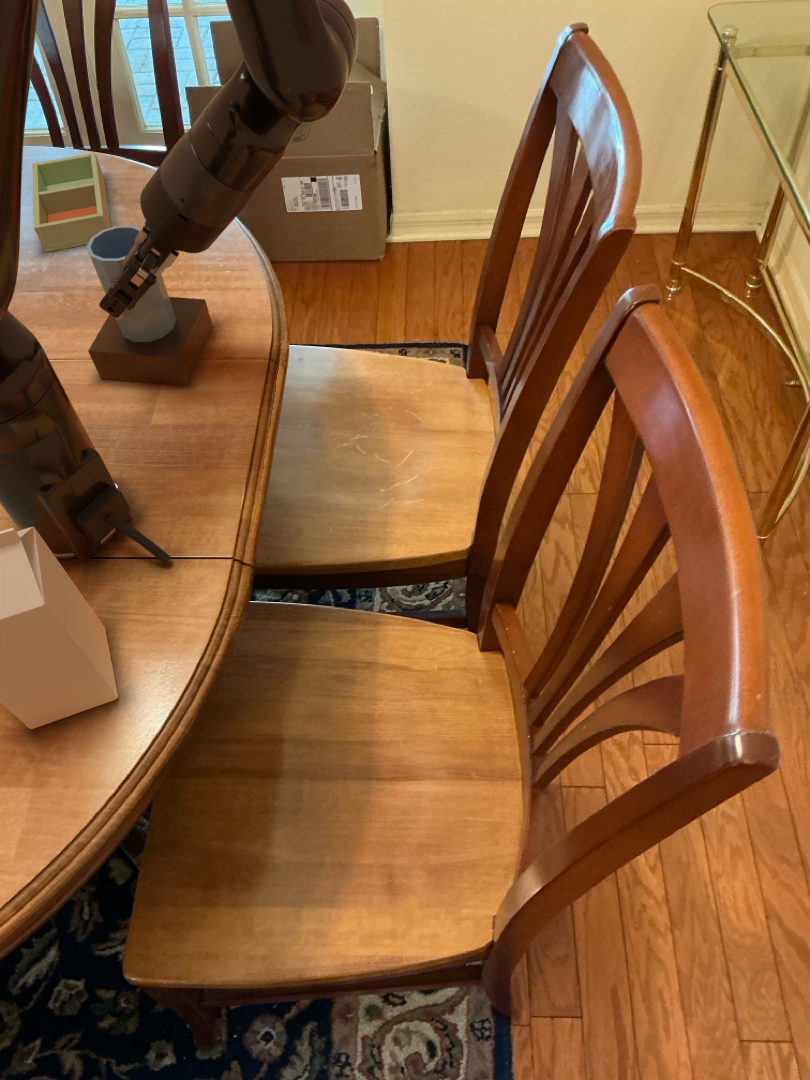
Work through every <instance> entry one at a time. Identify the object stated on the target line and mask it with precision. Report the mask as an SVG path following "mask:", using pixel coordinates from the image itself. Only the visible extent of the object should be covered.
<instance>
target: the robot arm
mask: <svg viewBox="0 0 810 1080" xmlns="http://www.w3.org/2000/svg"><path fill="white" fill-rule="evenodd" d="M225 4H226V7H227V10H228V13H229V17H230V20H231V22H232V26H233V29H234V32H235V36H236V39H237V41H238V45H239V48H240V51H241V54H242V57H243V59H242V60H241V62H240V64H239V65H238V67H237V69H236V70H235V72H234V73H233V74H232V76H230V78H229V79H228V81H227V82H226V83H225V84H224V85H223V86H222V87H221V88H220V89H219V91H218V92H217V93H216V94H215V95H214V96H213V98H211V100H209V103H207V105H206V107H204V109H203V111H202V112H201V113H200V115H199V116H198V117H197V119H196V121H195V122H194V123H193V124H192V125H191V127H190V128H189V129H188V130H187V131H186V132H185V133H184V134H183V135H182V136H181V137H179V139H178V140H177V141H176V142H175V144H174V145H173V147H172V148H171V149H170V151H169V152H168V154H167V155H166V156H165V158H164V159H163V160H162V161H161V163H160V165H159V167H158V168H157V169H156V170H155V172H154V173H153V175H152V176H151V177H150V179H149V180H148V182H147V183H146V184H145V186H144V187H143V189H142V191H141V192H140V197H139V200H140V201H139V204H140V209H141V210H140V211H141V213H142V215H143V218H144V220H145V221H144V225H143V226H142V227H141V230H140V231H139V233H138V234H137V236H136V238H135V244H134V245H133V246H132V248H131V249H130V251H129V252H128V253H127V255H126V256H125V258H124V259H123V261H122V263H121V267H122V269H123V270H122V272H121V273H120V275H119V276H118V277H117V279H114V280H113V282H112V283H113V285H112V286H111V287H110V288H109V290H108V292H107V293H106V295H104V296H103V297H102V299H101V300H100V301H99V303H98V306H99V308H100V309H101V310H103V311H104V312H105V313H107V314H108V315H109V314H110V315H111V316H113V317H115V318H118V317H119V316H120V315H121V314H122V313H123V311H124V310H125V309H126V308H127V309H128V310H129V311H130V310H131V309H132V308H134V307H135V305H136V303H137V302H138V301H139V300H140V298H141V297H142V296H143V295H144V294H145V293H146V292H147V291H148V289H149V288H150V287H152V286H153V285H154V284H155V283H156V281H157V279H158V278H159V277H160V275H161V274H162V275H163V273H164V271H165V270H166V269H167V268H170V267H171V266H172V265H173V264H174V263H175V261H176V260H177V258H178V257H179V255H180V252H181V253H187V254H201V253H203V252H205V251H207V250H208V249H209V248H210V247H211V246H212V245H213V244H214V243H215V242H216V240H217V239H218V238H219V237H220V236H221V235H222V234H223V232H225V230H226V229H227V228H228V226H230V224H231V223H232V222H233V221H234V220H235V219H236V218H237V216H238V215H239V214H241V212H242V211H243V210H244V208H246V206H247V204H248V203H249V201H250V200H251V198H252V196H253V195H254V193H255V192H256V190H257V189H258V188H259V187H260V185H261V184H262V183H263V182H264V180H265V179H267V177H268V176H269V175H270V174H271V173H272V171H273V170H274V169H275V168H276V167H277V165H278V164H279V163H280V162H281V160H282V159H283V157H284V156H285V155H286V153H287V152H288V149H289V148H290V145H291V143H292V141H293V139H294V136H295V135H296V133H297V131H298V130H299V129H300V127H301V126H302V124H306V123H307V124H308V123H315V122H318V121H321V120H322V119H324V118H325V117H328V115H329V114H330V113H332V111H333V110H334V109H335V108H336V106H337V105H338V104H339V102H340V100H341V99H342V96H343V93H344V92H345V88H346V86H347V83H348V80H349V78H350V76H351V73H352V71H353V69H354V66H355V64H356V60H357V56H358V51H359V50H358V49H359V31H358V26H357V22H356V18H355V16H354V15H353V11H352V9H351V8H350V6H349V5H348V3H347V2H346V1H345V0H225ZM40 5H41V0H0V505H1V507H2V508H3V509H4V511H5V513H6V514H7V515H8V516H9V517H10V519H11V520H12V522H13V523H14V525H16V527H17V528H18V529H19V531H20V530H23V529H27V528H30V527H34V528H35V529H36V530H37V532H38V533H39V535H40V536H41V537H42V539H43V540H44V542H45V543H46V545H47V546H48V547H49V549H50V550H51V552H52V553H53V554H54V556H55V557H56V559H57V560H71V559H79V560H80V561H82V562H88V561H89V560H90V559H91V558H93V556H95V554H96V553H98V552H99V550H101V549H102V548H103V547H104V546H105V545H106V544H108V542H110V540H112V539H113V537H115V535H116V534H117V533H118V532H119V531H120V532H121V533H123V534H124V535H126V536H127V537H128V538H130V539H132V540H133V541H134V542H136V543H137V544H139V546H141V547H143V548H144V549H145V550H147V552H149V553H150V554H151V555H153V557H155V558H156V559H157V560H159V561H160V562H161V563H162V564H164V565H166V564H167V563H168V562H169V561H170V560H171V559H172V556H171V555H169V554H168V553H167V552H166V551H164V549H162V548H161V547H160V546H159V545H157V544H156V543H155V542H153V540H151V539H150V538H148V537H147V536H146V535H145V534H143V533H142V532H140V531H139V530H137V529H136V528H135V527H133V526H132V525H130V524H129V522H130V521H131V520H132V519H133V516H132V513H131V511H132V510H131V508H130V506H129V504H128V502H127V500H126V498H125V496H124V494H123V493H122V491H120V490H119V488H118V485H117V484H116V483H115V481H114V479H113V476H111V474H110V472H109V469H108V467H107V466H106V464H105V462H104V460H103V458H102V457H101V455H100V453H99V452H98V451H97V449H96V447H95V446H94V443H93V441H92V439H91V438H90V435H89V434H88V432H87V430H86V428H85V426H84V424H83V422H82V420H81V419H80V417H79V415H78V413H77V411H76V409H75V406H74V405H73V403H72V402H71V400H70V397H69V396H68V394H67V392H66V389H65V388H64V386H63V384H62V382H61V380H60V378H59V376H58V374H57V372H56V371H55V368H54V367H53V365H52V363H51V361H50V359H49V357H48V354H47V353H46V351H45V349H44V348H43V346H42V344H41V342H40V341H39V339H38V338H37V337H36V335H35V334H34V333H33V332H32V331H31V330H30V329H29V328H27V326H26V325H24V324H23V323H22V322H21V321H20V320H19V319H17V317H16V316H15V315H13V314H12V313H11V311H10V310H9V307H10V305H11V302H12V300H13V297H14V293H15V290H16V286H17V280H18V271H19V265H20V264H19V263H20V248H21V247H20V246H21V219H22V216H21V215H22V213H21V212H22V187H23V185H22V183H23V159H24V158H23V157H24V143H25V142H24V141H25V128H26V119H27V109H28V100H29V94H30V87H31V79H32V78H31V77H32V69H33V63H34V62H33V61H34V52H35V44H36V34H37V27H38V19H39V12H40V11H39V10H40ZM136 252H137V253H136ZM135 253H136V258H137V260H138V261H139V262H140V263H141V264H139V263H138V262H137V261H135V260H133V261H132V258H133V256H134V255H135ZM157 267H158V268H157ZM156 268H157V269H156ZM151 269H156V271H155V272H154V273H151V272H150V271H151Z"/></svg>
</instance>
